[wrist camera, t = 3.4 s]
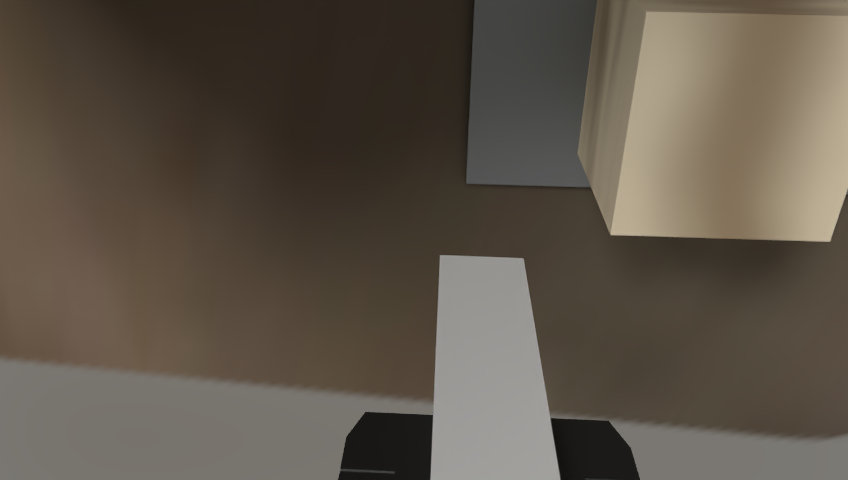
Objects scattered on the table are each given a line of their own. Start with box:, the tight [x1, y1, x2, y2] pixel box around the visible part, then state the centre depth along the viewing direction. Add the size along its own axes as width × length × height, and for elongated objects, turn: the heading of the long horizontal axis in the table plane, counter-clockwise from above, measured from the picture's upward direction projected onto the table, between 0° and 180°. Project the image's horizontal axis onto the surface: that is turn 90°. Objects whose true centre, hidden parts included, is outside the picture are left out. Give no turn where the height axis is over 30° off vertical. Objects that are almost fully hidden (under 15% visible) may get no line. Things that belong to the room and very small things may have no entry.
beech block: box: [578, 0, 848, 242], centre depth 24 cm, size 7×7×7 cm
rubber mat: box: [466, 0, 848, 195], centre depth 27 cm, size 26×10×1 cm, turn 89°
